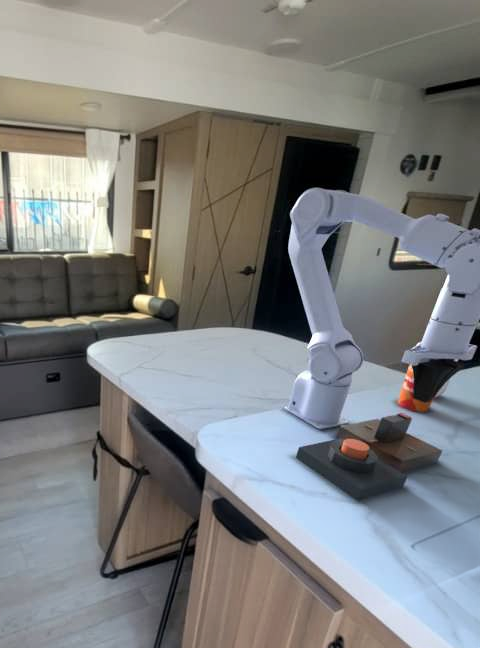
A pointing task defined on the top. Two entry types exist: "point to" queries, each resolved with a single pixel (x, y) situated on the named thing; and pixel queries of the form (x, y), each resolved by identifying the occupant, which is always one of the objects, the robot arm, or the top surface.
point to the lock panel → (392, 446)
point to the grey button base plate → (351, 469)
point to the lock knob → (393, 427)
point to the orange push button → (355, 448)
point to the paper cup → (411, 394)
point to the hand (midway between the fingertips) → (421, 399)
